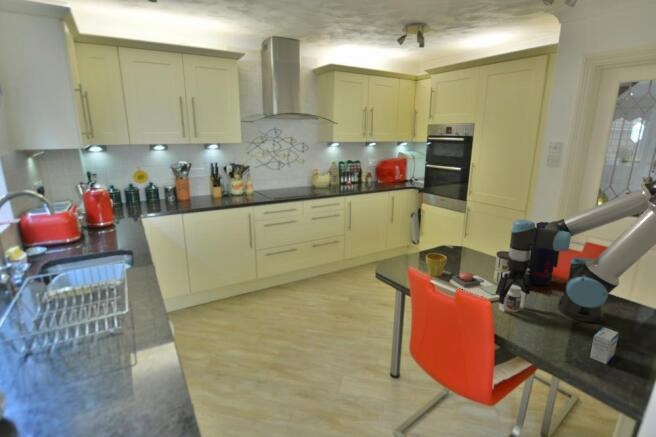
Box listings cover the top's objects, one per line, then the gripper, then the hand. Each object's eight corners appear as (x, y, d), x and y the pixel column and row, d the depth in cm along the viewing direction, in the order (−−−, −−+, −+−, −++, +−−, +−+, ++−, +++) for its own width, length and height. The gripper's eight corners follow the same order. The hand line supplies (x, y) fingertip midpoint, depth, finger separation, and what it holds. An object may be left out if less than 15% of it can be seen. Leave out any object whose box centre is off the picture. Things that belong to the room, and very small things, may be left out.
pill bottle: (501, 307, 143) (503, 285, 141) (509, 304, 146) (512, 283, 144) (513, 313, 139) (516, 291, 136) (522, 310, 141) (525, 288, 139)
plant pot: (425, 277, 173) (427, 259, 171) (423, 269, 183) (425, 252, 181) (446, 279, 172) (448, 260, 169) (443, 271, 182) (445, 253, 179)
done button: (475, 281, 162) (475, 276, 161) (464, 282, 160) (465, 277, 160) (466, 276, 167) (467, 271, 167) (456, 277, 166) (457, 273, 165)
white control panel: (511, 297, 152) (512, 290, 151) (482, 302, 147) (483, 295, 146) (476, 278, 172) (477, 271, 172) (449, 282, 168) (450, 275, 167)
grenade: (532, 287, 162) (541, 227, 155) (517, 277, 174) (525, 220, 166) (560, 287, 162) (571, 226, 155) (544, 276, 174) (553, 220, 167)
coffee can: (512, 277, 173) (516, 251, 170) (519, 286, 163) (523, 258, 160) (490, 276, 175) (494, 250, 172) (496, 284, 165) (499, 257, 162)
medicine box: (606, 365, 108) (611, 341, 106) (589, 357, 111) (594, 334, 109) (614, 355, 112) (619, 332, 110) (597, 349, 116) (602, 326, 114)
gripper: (531, 252, 144) (524, 300, 149) (489, 257, 137) (483, 308, 143) (547, 258, 137) (539, 308, 142) (504, 264, 130) (497, 317, 136)
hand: (511, 308), depth 142 cm, fingers open, 9 cm apart
